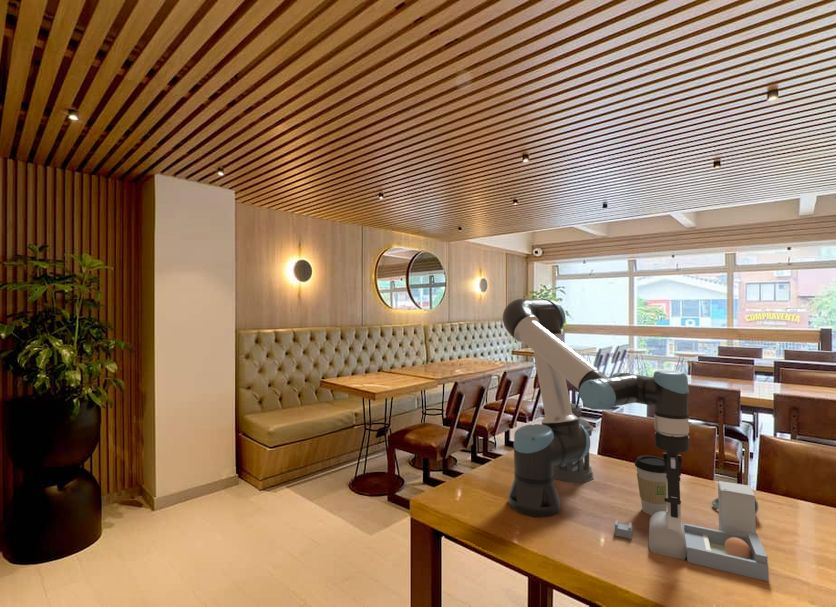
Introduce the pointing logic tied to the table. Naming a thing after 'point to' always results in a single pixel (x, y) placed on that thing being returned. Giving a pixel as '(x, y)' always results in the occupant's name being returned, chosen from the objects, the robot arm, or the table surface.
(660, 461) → the coffee cup
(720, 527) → the supplement box
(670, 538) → the grey molded pieces
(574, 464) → the lantern
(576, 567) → the table surface
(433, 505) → the table surface
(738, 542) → the ball
